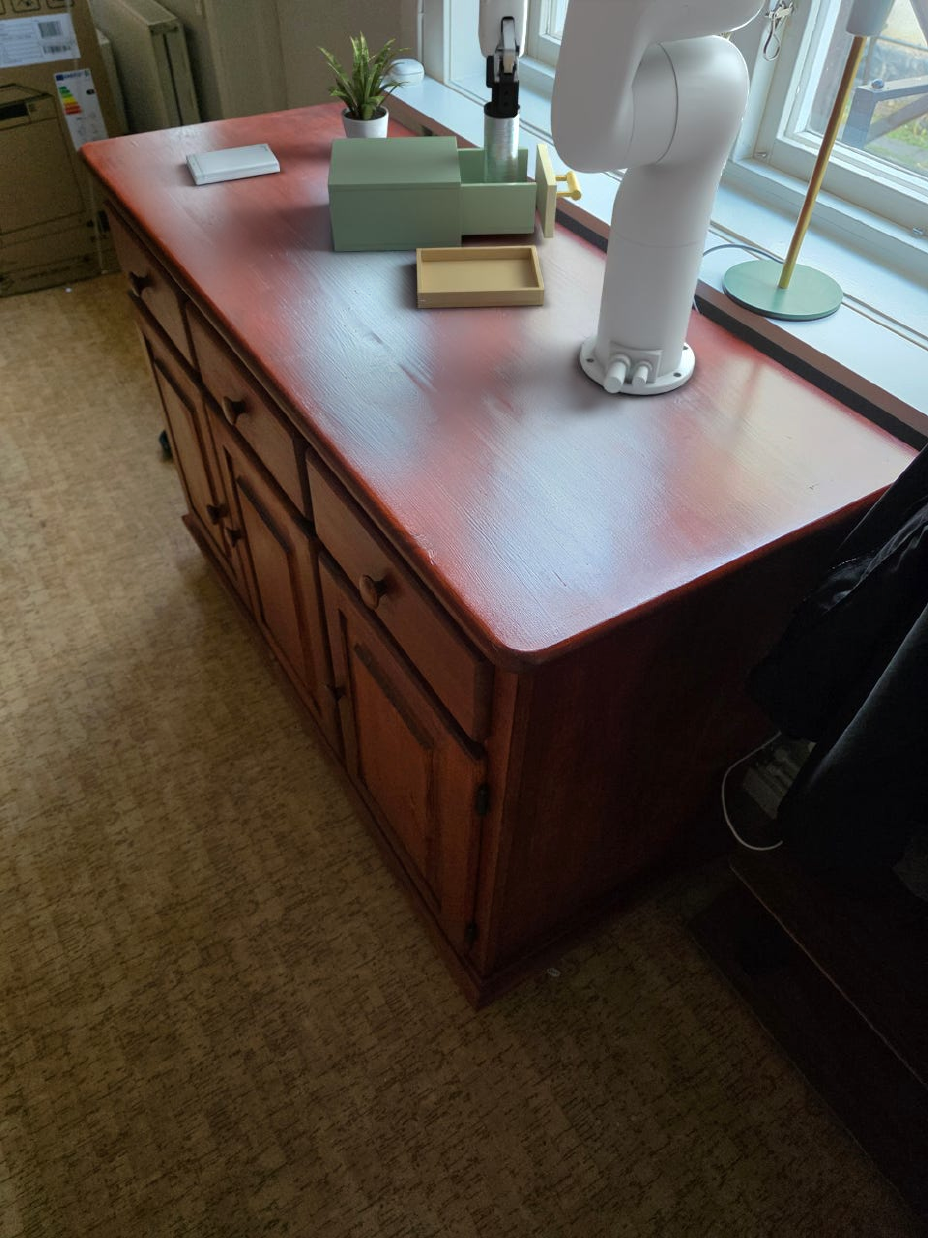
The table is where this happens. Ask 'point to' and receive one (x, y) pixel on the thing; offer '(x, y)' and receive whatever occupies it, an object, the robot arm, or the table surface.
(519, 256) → the tray
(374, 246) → the cabinet
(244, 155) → the hard drive
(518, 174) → the drawer
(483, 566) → the table surface
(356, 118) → the house plant
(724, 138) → the robot arm
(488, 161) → the canister
